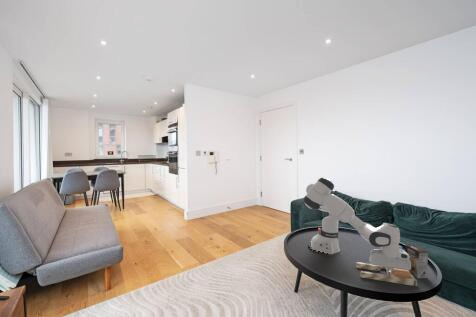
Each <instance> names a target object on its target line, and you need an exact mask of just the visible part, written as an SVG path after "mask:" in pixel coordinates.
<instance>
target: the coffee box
mask: <svg viewBox="0 0 476 317" xmlns="http://www.w3.org/2000/svg"><path fill="white" fill-rule="evenodd" d="M404 247H405V248H404V251H405V252H406V253H408V255H409V256H410V258H409V260H410V261H411V270H410V271H409V272H410V273H411V274H412V276H413V277H414V278H415V279H427V278H428V277H427V276H428V264H429V263H428V258H429V251H428V250H426V249H424V248H423V247H421V246H418V245H416V244H405V245H404Z"/></svg>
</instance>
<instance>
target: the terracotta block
mask: <svg viewBox="0 0 476 317" xmlns="http://www.w3.org/2000/svg"><path fill="white" fill-rule="evenodd" d="M390 276H397V277H403V278H410V279H411V273H410V272H409V271H408V270H402V269H395V268H394V270H393V271H392V272H391V275H390Z"/></svg>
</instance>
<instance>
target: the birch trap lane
mask: <svg viewBox="0 0 476 317" xmlns="http://www.w3.org/2000/svg"><path fill="white" fill-rule="evenodd" d="M355 266H356V269H362V270H360V275H359V276H360V277H361V278H363V279H369V280H375V281H376V280H377V281H382V282H387V283H388V282H389V283H395V284H400V285H407V286H413V287H418V280H417V278H416V277H415V276H413V275H412V274H411V279H410V278H403V277H397V276H391V275H389V274H382V273H378V272H381V270H386V268H385V267H383V266H376V265H372V264H371V263H367V262H360V261H356V265H355ZM363 270H369V271H363ZM388 270H390V268H389V269H388ZM370 271H371V272H370ZM372 271H375V272H372ZM376 272H377V273H376Z"/></svg>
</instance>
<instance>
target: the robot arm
mask: <svg viewBox="0 0 476 317" xmlns="http://www.w3.org/2000/svg"><path fill="white" fill-rule="evenodd" d="M334 189H335V184H334V183H333V181H332V180H331V179H329V178H327V177H320V178H319V179H317V181H316V182H315V183H309V184H308V185H307V186H306V189H305V192H306V195H304V197H303V199H302V201H303V203H304V205H305V206H306V207H307V208H309V209H310V210H315V211H316V210H319V211H321V212H325V213H328V216H325V217H323V218H322V220H321V228H320V227H318V229H317V230H318V234H316V235H314V236H312V238H311V241H310V242H311V247H312V249H313V250H316V251H315V252H318V251H320V252H319V253H322V252H324V254H327V253H328V254H327V255H335V254H337V253H339V252H340V251H341V249H340V245H339V238H340V237H339V236H340V235H339V234H340V233H339V222H342V223H348V224H350V226H351V227H353V228H354V229H355V231H357V232H356V233H357V234H358V236H360V237H361V238H362V239H364V241H366V242H367V243H369V244H370V245H371V246H373V247H376V249H375V248H372V249H370V250H369V261H368V262H369V264H372V265H376V266H383V267H385V268H386V269H385V270H386V275H390V276H391V272H392V271H393V270H394V268H395V269H402V270H408V271H410V270H411V261H410V260H409V258H410V256H409V255H408V253H406V252H405V249H400V247H399V246H400V241H401V234H400V232H401V231H400V228H399V227H398V226H396V225H395V224H392V223H389V222H383V223H382V224H381V225H380V226H377V227H375V226H373V224H371V223H369V222H365V221H362V220H361V219H360V218H359V217H358V216H356V215H355V209H353V207H352V206H351V205H350V204H348V202H347V201H345V200H344V199H343V198H341V197H339V196H337V195H335V194H333V193H332V192H333V190H334ZM377 248H380V249H377ZM313 250H312V251H313ZM389 268H390V270H388V269H389Z"/></svg>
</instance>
